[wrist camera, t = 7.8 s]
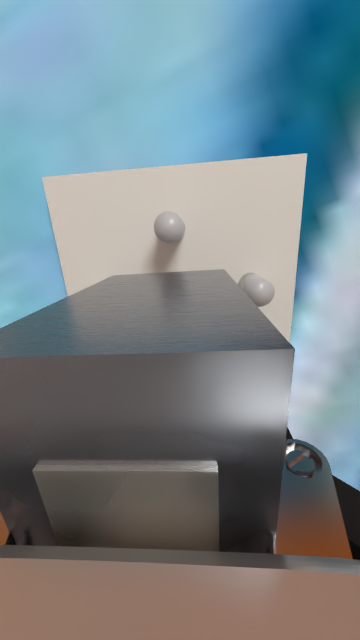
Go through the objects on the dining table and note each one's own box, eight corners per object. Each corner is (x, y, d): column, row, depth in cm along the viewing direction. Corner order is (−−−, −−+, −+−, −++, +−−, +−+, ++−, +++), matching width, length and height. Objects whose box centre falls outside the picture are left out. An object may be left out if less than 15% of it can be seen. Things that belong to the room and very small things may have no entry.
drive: (223, 268, 11) (298, 352, 3) (224, 446, 14) (261, 703, 6) (113, 275, 11) (-74, 363, 3) (138, 446, 14) (72, 689, 7)
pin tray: (297, 160, 13) (332, 134, 10) (274, 444, 20) (290, 487, 16) (54, 181, 14) (10, 164, 11) (107, 443, 21) (90, 484, 17)
